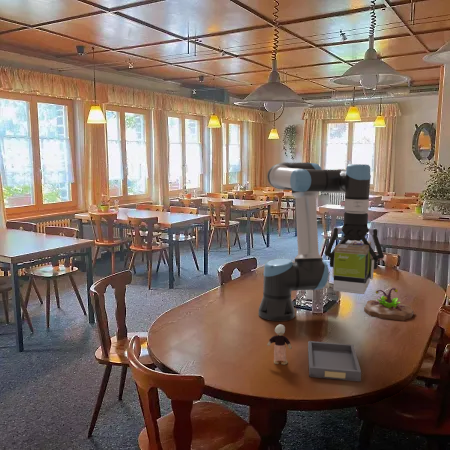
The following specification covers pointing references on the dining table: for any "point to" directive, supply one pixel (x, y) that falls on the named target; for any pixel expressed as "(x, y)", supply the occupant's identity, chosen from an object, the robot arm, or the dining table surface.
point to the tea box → (351, 267)
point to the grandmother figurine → (280, 345)
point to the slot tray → (333, 361)
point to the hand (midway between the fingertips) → (352, 277)
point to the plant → (388, 308)
